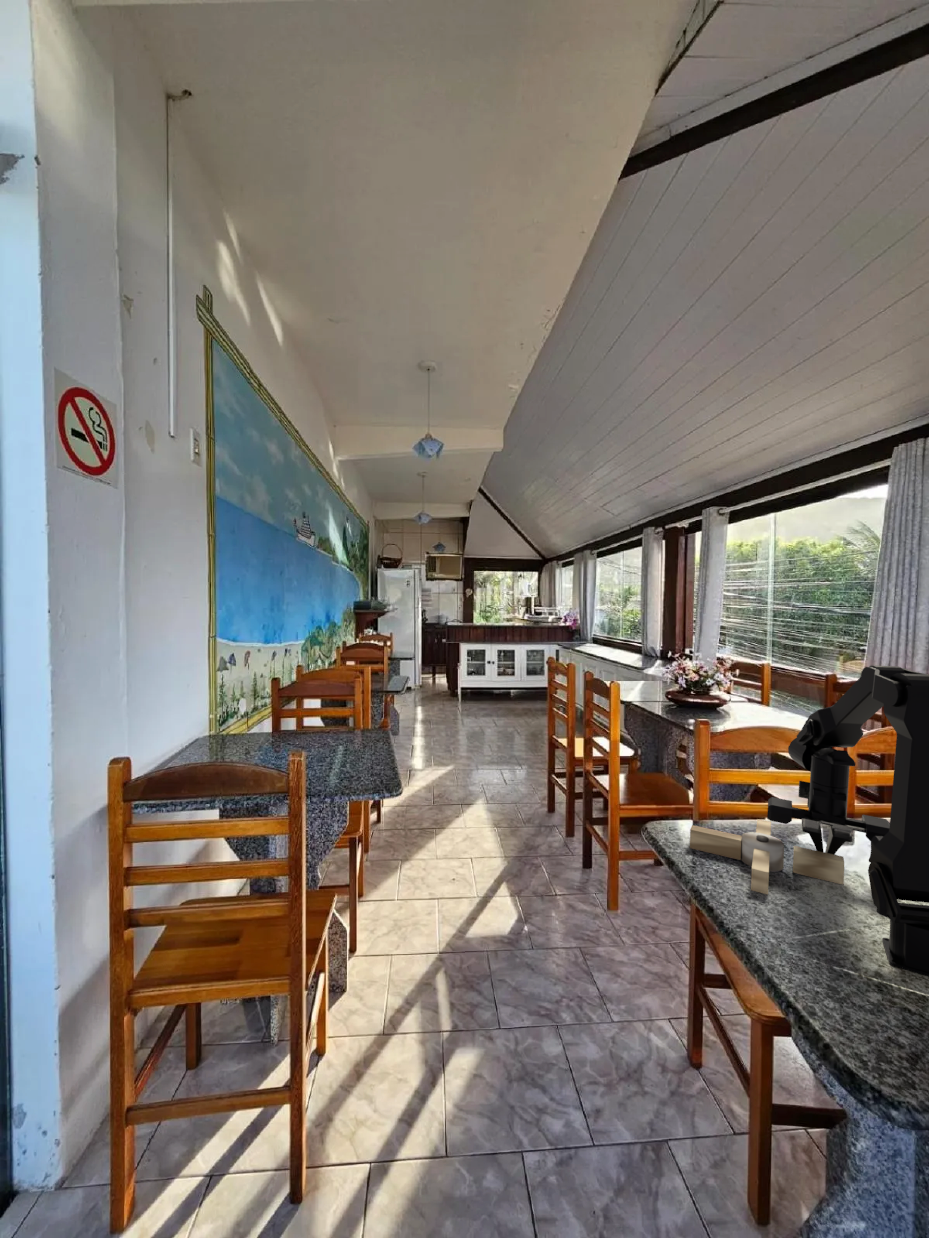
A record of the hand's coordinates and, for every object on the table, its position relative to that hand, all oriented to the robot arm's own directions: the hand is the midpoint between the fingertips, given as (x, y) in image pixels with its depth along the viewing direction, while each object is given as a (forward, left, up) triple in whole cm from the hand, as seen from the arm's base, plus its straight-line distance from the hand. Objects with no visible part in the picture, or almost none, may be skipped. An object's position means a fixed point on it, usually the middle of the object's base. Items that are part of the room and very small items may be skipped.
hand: (823, 864), depth 96 cm
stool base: (-3, +14, -1) cm, 15 cm away
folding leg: (-3, +1, -1) cm, 3 cm away
